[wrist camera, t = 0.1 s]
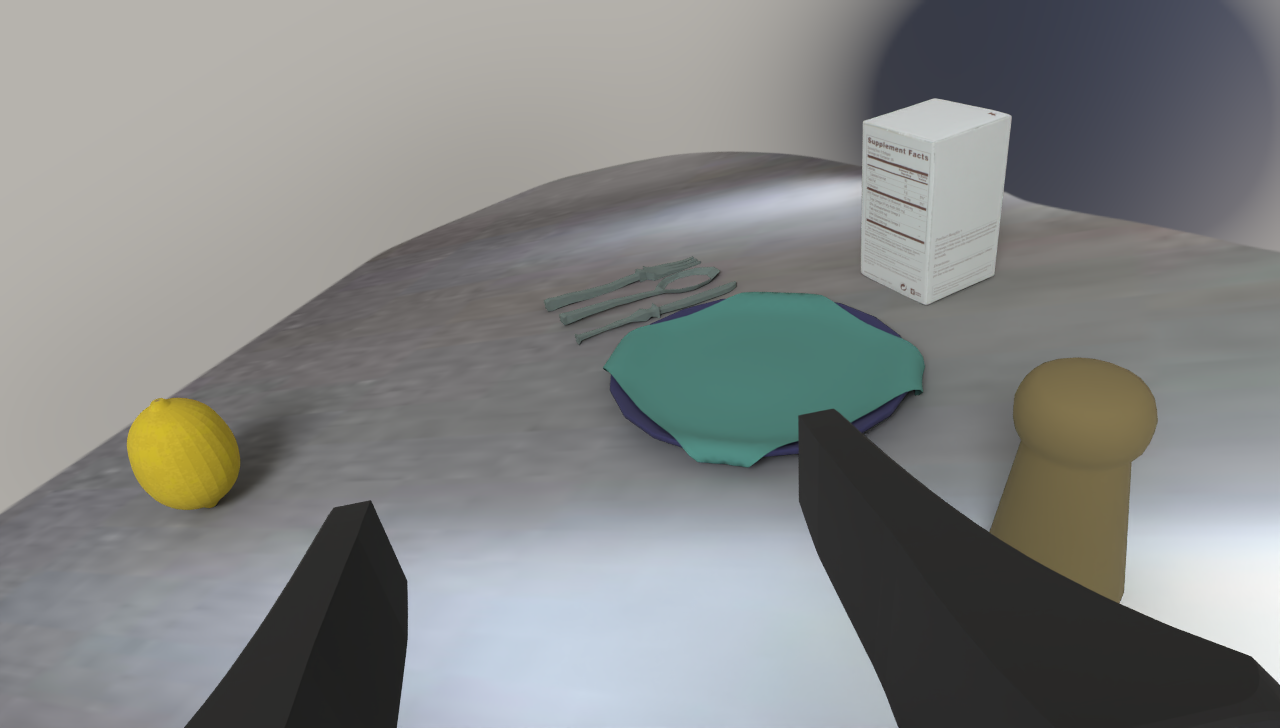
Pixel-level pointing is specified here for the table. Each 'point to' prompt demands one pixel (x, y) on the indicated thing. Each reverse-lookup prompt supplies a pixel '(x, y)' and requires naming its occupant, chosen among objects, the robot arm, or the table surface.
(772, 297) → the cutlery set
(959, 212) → the supplement box
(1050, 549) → the cork
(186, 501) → the lemon
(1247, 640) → the table surface
